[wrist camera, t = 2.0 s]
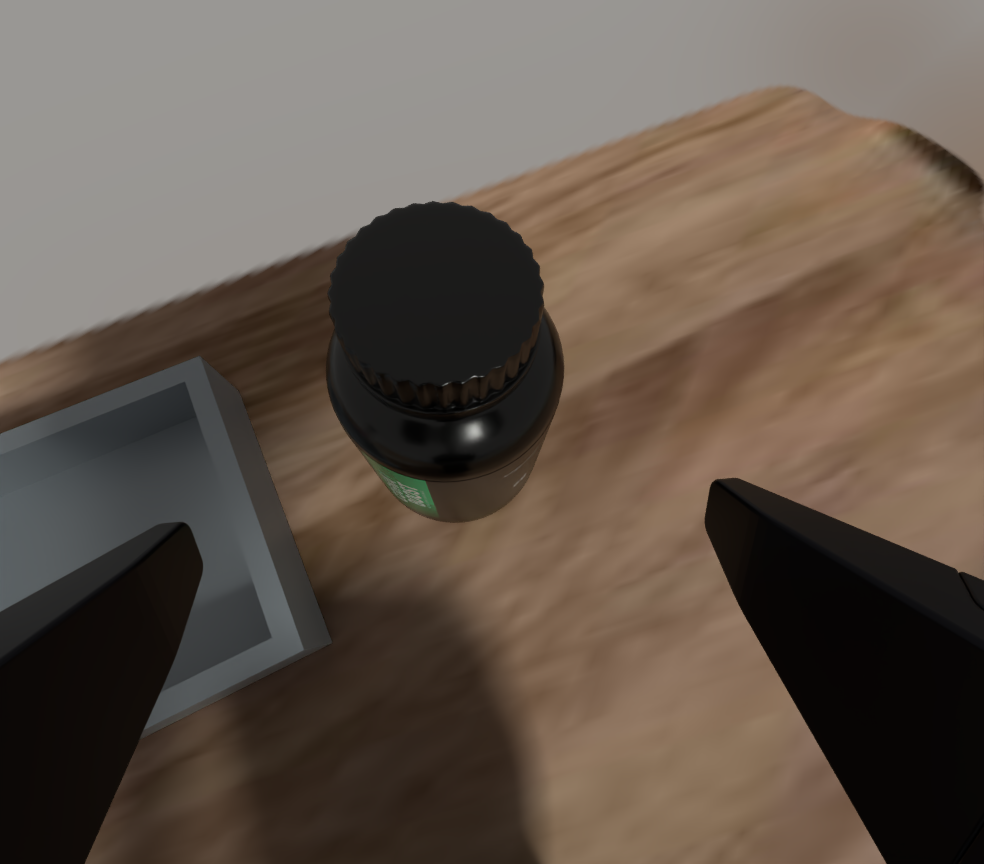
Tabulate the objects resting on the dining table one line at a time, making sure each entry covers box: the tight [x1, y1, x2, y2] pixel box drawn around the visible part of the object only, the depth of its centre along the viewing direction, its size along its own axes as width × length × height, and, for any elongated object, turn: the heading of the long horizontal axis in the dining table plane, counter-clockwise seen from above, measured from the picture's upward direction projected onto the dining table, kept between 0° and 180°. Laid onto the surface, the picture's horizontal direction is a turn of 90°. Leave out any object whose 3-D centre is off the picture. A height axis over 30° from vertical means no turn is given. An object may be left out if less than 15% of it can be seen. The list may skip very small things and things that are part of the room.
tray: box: [0, 356, 332, 739], centre depth 19 cm, size 12×12×4 cm
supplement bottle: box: [326, 201, 564, 523], centre depth 17 cm, size 7×7×12 cm
